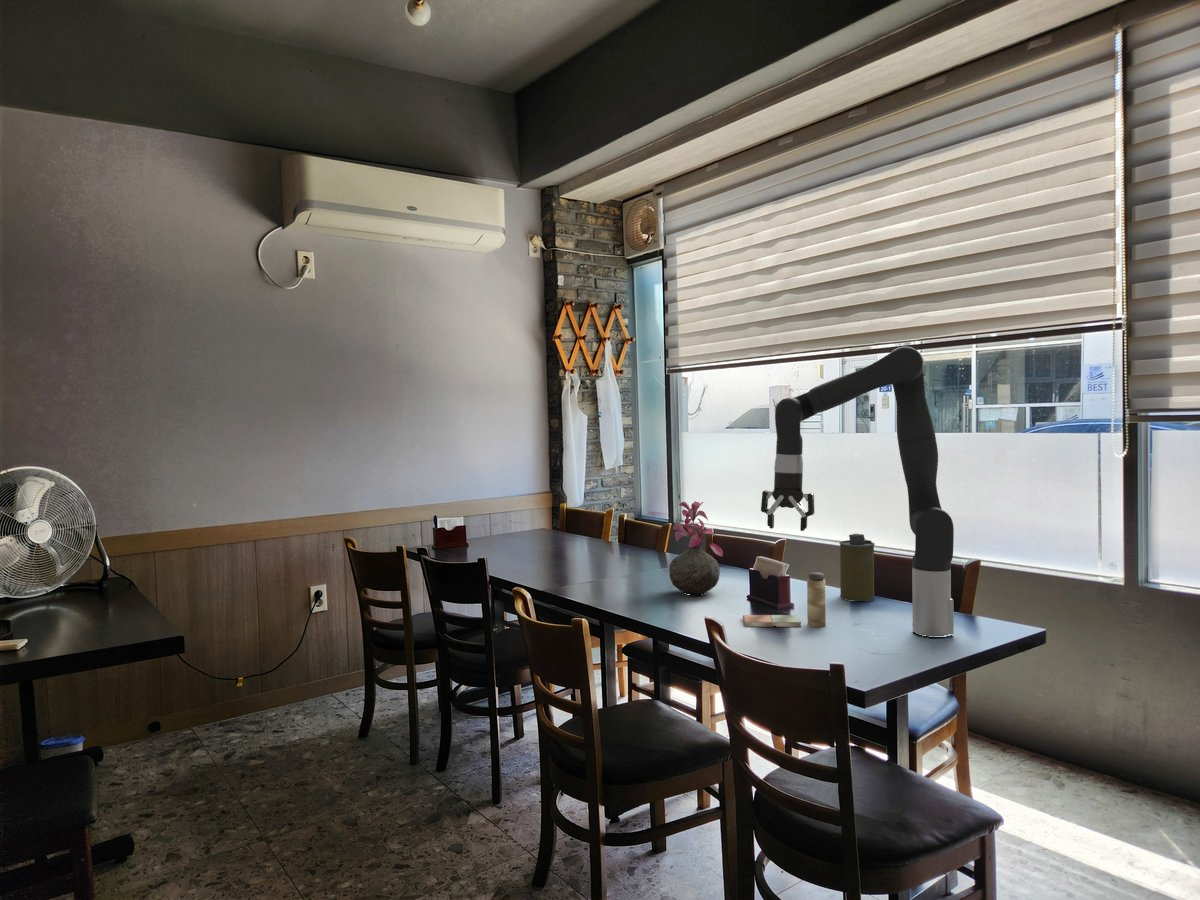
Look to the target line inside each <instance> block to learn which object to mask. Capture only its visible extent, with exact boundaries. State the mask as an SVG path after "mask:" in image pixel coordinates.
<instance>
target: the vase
mask: <svg viewBox="0 0 1200 900" xmlns="http://www.w3.org/2000/svg"><path fill="white" fill-rule="evenodd" d="M703 503H704V502H703V501H702V502H699V501H693V503H691V507H690V505H689V504H688V503H687V502H686V501H682V502H680V503H679V504H678V506H680V507H681V506H682V507H684V508H685V509H682V511H681V513H682V516H683V517H685V518H684V521H683V522H684V525H683V524H682V523H681V522H680V521H676V522H675V523H674V526H673V527H672V530H674V537H675V540H676V542H679V540H680V539H681V538H682V537H687V538H688V537H689V538H690V540H689V543H688V546H687V547H688V548H689V549H688V550H686V551H684V552H682V553H680V554H678V555H676V557H674V558H673V559H672V560H671V562H670V563H669V568H668V571H669V572H668V574H669V579H670V582H671V583H672V585H673V586H674V587H675V588H676V589H677V590H679V591H681V592H683V593H686V594H690V595H701V594H704V593H705V594H706V593H707V592H709V591H711V590H712V589H713V588H715V587H716V586H717V584H718V582H719V580H720V573H721V572H720V564H719V562H718V561H717V560H716V559H715V558H714V557H713V556H712V555H710V554H709V553H707V552H706V551H704V550H703V548H702V541H703V536H702V535H708V534H709V535H712V536H714V537H716V534H715V533H714V532H713V530H712V529H709V528H708V529H706V530H704V529H705V523H704V521H702V520H701V519H700V518H698V516H700V517H702V518H705V519H706V520H707V521H709V519H708V516H707V514H706V512H705V511H704V510H699V508H700V507H701V506H702V505H703ZM696 519H697V520H698V522H699V523H700V524H698V523H697V522H695V520H696ZM691 521H692V522H691ZM696 529H699V532H700V533H698V531H696ZM675 531H676V532H675ZM708 544H709V547H710V549H711V550H712V551H713V553H714V554H715V555H717V556H719V557H724V551H723V549H722V548H721V547H720V546H719V545H718V544H716V543H714V542H708Z"/></svg>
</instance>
